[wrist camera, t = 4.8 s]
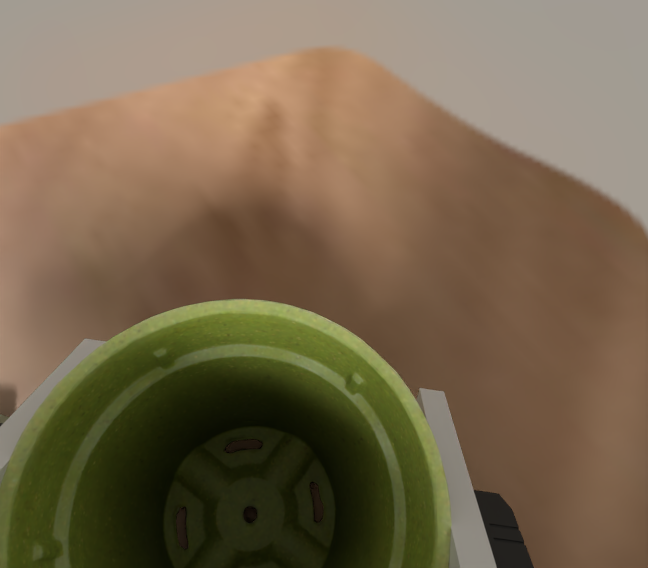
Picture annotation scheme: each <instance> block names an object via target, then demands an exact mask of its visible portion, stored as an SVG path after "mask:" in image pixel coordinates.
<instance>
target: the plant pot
mask: <svg viewBox="0 0 648 568" xmlns="http://www.w3.org/2000/svg"><path fill="white" fill-rule="evenodd" d="M246 439H256V440H259V441H261V442H262V444H263V445H262V447H261V448H260V449H246V450H239V451H235V452H233V453H229V454H228V453H226V452H225V451H224V450H225V448H226V446H227V445H229V444H230V443H231V442H233V441H236V440H246ZM312 481H313V483H316V484H317V485H318V487H319V493H320V499H321V501H322V503H323V506H324V512H323V519H322V521H320V522H319V523H317V522H315V521H314V511H313V501H312V495H311V491H310V488H309V484H310V483H311V482H312ZM248 506H252V507H254V508H256V510H257V518H256V519H255V521H254V522H251V523H248V522H247V521H245V519H244V517H243V513H244V510H245V508H246V507H248ZM181 507H186V509H187V510H186V532H187V535H186V536H187V539H188V545H189V547H188V548H187V549H184V548H183V547H181V546H180V545H179V542H178V537H177V529H176V514H177V513H178V511H179V509H180V508H181ZM451 526H452V521H451V505H450V497H449V491H448V484H447V480H446V476H445V472H444V467H443V463H442V460H441V456H440V452H439V449H438V446H437V443H436V440H435V438H434V435H433V433H432V430H431V428H430V426H429V424H428V421H427V420H426V418H425V416H424V414H423V412H422V410H421V408H420V406H419V404H418V402H417V401H416V399H415V397H414V396H413V394H412V393H411V391H410V390H409V388H408V387H407V385H406V384H405V382H404V381H403V380H402V378H401V377H400V376H399V374H398V373H397V372H396V371H395V370H394V369H393V368H392V367H391V366H390V365H389V364H388V363H387V362H386V361H385V360H384V359H383V358H382V357H381V356H380V355H379V354H378V353H377V352H376V351H375V350H374V349H372V348H371V347H370V346H369V345H368V344H366V343H365V342H364V341H363V340H362V339H360V338H359V337H358V336H356V335H355V334H353V333H352V332H350V331H349V330H347V329H346V328H344V327H343V326H340V325H339V324H337V323H335V322H333V321H331V320H329V319H327V318H325V317H323V316H321V315H318V314H316V313H314V312H311V311H309V310H306V309H302V308H299V307H296V306H292V305H288V304H284V303H278V302H273V301H266V300H255V299H228V300H215V301H209V302H202V303H197V304H192V305H187V306H183V307H179V308H176V309H173V310H170V311H167V312H163V313H160V314H157V315H155V316H152V317H150V318H148V319H146V320H144V321H142V322H140V323H137V324H135V325H134V326H132V327H130V328H128V329H126V330H125V331H123V332H121V333H119V334H118V335H116V336H114V337H112V338H111V339H110V340H108V341H107V342H105V343H104V344H102V345H101V346H99V347H98V348H97V349H95V350H94V351H93V352H92V353H90V354H89V355H88V356H87V357H86V358H84V359H83V360H82V361H81V362H80V363H79V364H78V365H77V366H76V367H75V368H74V369H72V370H71V371H70V372H69V373H68V374H67V375H66V376H65V377H64V378H63V379H62V380H61V381H59V382H58V383H57V384H56V386H55V387H54V388H53V389H52V391H51V392H50V393H49V395H48V396H47V397H46V398H45V400H44V401H43V402H42V404H41V405H40V406H39V408H38V409H37V410H36V412H35V413H34V415H33V416H32V418H31V419H30V421H29V422H28V424H27V426H26V427H25V429H24V431H23V432H22V434H21V436H20V438H19V440H18V442H17V444H16V446H15V448H14V451H13V453H12V455H11V457H10V460H9V463H8V465H7V468H6V471H5V473H4V476H3V479H2V482H1V485H0V568H449V560H450V542H451Z"/></svg>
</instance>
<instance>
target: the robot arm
mask: <svg viewBox="0 0 648 568" xmlns="http://www.w3.org/2000/svg"><path fill="white" fill-rule="evenodd" d="M105 342H106V341H99V340H93V339H86V338H85V339H84V340H83V341H82V342H81V343H80V344H79V345H78V346H77V347H76V348H75V349H74V350H73V351H72V352H71V354H70V355H69V356H68V357H67V358H66V359H65V360H64V361H63V362H62V363H61V364H60V365H59V366H58V367H57V368H56V369H55V370H54V371H53V372H52V373H51V374H50V375H49V376H48V377H47V379H46V380H45V381H44V382H43V383H42V384H41V385H40V386H39V387H38V388H37V389H36V390H35V391H34V392H33V393H32V394H31V395H30V396H29V397H28V398H27V399H26V400H25V401H24V402H23V404H22V405H21V406H20V407H19V408H18V409H17V410H16V411H15V412H14V413H13V414H12V415H11V416H10V417H9V418H8V419H7V420H6V421H5V422H4V423H0V485H1V482H2V479H3V476H4V473H5V471H6V468H7V465H8V463H9V460H10V457H11V455H12V453H13V451H14V448H15V446H16V444H17V442H18V440H19V438H20V436H21V434H22V432H23V431H24V429H25V427H26V426H27V424H28V422H29V421H30V419H31V418H32V416H33V415H34V413H35V412H36V410H37V409H38V408H39V406H40V405H41V404H42V402H43V401H44V400H45V398H46V397H47V396H48V395H49V393H50V392H51V391H52V389H53V388H54V387H55V386H56V384H57V383H58V382H59V381H61V380H62V379H63V378H64V377H65V376H66V375H67V374H68V373H69V372H70V371H71V370H72V369H74V368H75V367H76V366H77V365H78V364H79V363H80V362H81V361H82V360H83V359H84V358H86V357H87V356H88V355H89V354H90V353H92V352H93V351H94V350H95V349H97V348H98V347H99V346H101V345H102V344H104V343H105ZM416 401H417V402H418V404H419V406H420V408H421V410H422V412H423V414H424V416H425V418H426V420H427V421H428V424H429V426H430V428H431V430H432V433H433V435H434V438H435V440H436V443H437V446H438V449H439V452H440V456H441V460H442V463H443V467H444V472H445V476H446V480H447V484H448V491H449V497H450V505H451V521H452V526H451V542H450V560H449V568H534V567H533V564H532V562H531V559H530V556H529V554H528V551H527V548H526V546H525V545H524V540H523V538H522V535H521V532H520V531H519V527H518V524H517V522H516V519H515V516H514V513H513V511H512V509H511V508H510V507H509V506H508V504H507V503H506V502H505V501H504V500H503V498H502V497H501V496H500V495H499V494H497V493H490V492H483V491H476V490H473V487H472V483H471V480H470V477H469V473H468V470H467V467H466V463H465V460H464V457H463V453H462V450H461V447H460V443H459V440H458V437H457V433H456V430H455V427H454V423H453V420H452V417H451V413H450V410H449V407H448V403H447V400H446V397H445V393H444V391H437V390H430V389H424V388H419V392H418V396H417V400H416Z"/></svg>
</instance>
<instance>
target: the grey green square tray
mask: <svg viewBox="0 0 648 568" xmlns="http://www.w3.org/2000/svg"><path fill="white" fill-rule="evenodd" d="M8 418H9V417H7V416H4V415H1V414H0V423H4V422H5V421H6V420H7V419H8Z"/></svg>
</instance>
